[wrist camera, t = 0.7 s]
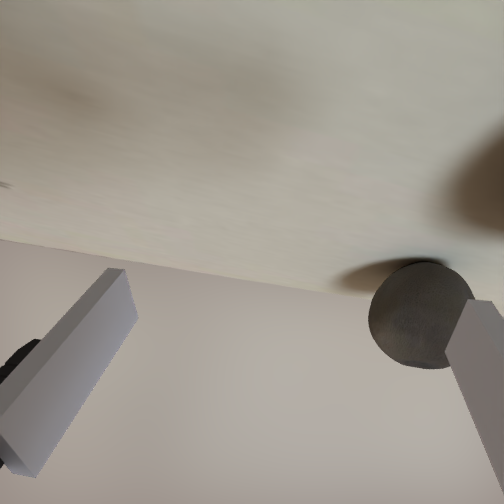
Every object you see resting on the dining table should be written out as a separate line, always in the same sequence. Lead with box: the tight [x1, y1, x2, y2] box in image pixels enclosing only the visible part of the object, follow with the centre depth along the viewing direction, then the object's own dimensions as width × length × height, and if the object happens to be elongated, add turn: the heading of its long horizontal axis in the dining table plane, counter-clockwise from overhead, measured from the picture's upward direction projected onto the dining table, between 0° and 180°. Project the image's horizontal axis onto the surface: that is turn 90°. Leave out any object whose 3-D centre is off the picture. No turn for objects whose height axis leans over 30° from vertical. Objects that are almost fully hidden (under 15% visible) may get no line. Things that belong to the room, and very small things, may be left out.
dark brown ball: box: [368, 262, 475, 369], centre depth 48 cm, size 14×14×15 cm
